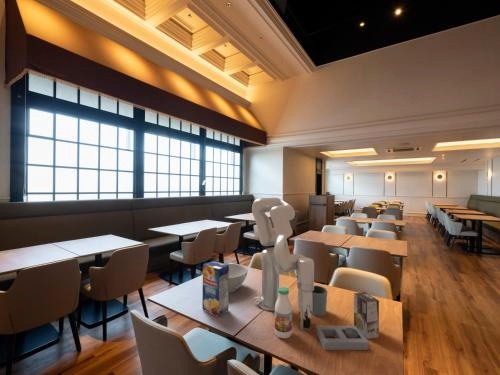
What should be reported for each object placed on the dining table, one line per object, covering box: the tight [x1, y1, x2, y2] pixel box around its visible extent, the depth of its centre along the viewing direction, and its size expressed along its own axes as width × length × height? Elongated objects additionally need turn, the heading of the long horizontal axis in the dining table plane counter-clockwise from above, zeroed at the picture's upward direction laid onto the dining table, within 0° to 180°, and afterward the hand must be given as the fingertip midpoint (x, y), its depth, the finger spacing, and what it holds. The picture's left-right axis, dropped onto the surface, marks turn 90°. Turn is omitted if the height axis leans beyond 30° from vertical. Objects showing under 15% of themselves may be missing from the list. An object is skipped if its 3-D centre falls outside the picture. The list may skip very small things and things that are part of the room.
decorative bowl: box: [225, 262, 249, 294], centre depth 149 cm, size 27×27×12 cm
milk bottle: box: [274, 286, 293, 339], centre depth 103 cm, size 8×8×20 cm
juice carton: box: [201, 260, 229, 317], centre depth 123 cm, size 12×8×24 cm, turn 55°
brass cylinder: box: [299, 311, 311, 332], centre depth 107 cm, size 4×4×9 cm
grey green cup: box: [311, 284, 328, 317], centre depth 121 cm, size 10×10×12 cm
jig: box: [315, 325, 370, 351], centre depth 99 cm, size 18×11×4 cm, turn 91°
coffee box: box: [353, 291, 380, 340], centre depth 105 cm, size 9×6×16 cm
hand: (305, 324), depth 107 cm, fingers closed on brass cylinder, 4 cm apart
